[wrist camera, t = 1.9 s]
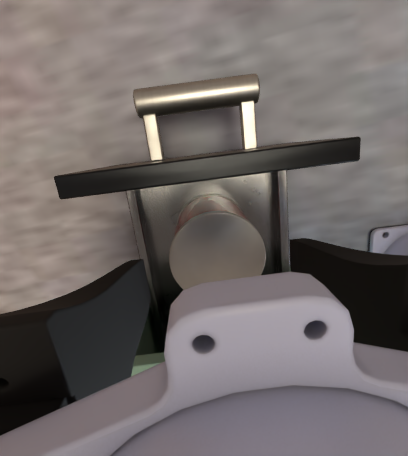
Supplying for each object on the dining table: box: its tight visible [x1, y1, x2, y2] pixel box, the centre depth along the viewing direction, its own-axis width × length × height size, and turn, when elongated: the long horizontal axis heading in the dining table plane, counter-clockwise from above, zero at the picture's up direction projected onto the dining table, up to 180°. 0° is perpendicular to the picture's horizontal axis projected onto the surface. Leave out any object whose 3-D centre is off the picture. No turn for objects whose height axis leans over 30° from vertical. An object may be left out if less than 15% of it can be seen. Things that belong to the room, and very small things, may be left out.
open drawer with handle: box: [54, 74, 360, 353], centre depth 16 cm, size 13×18×8 cm
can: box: [169, 194, 266, 290], centre depth 17 cm, size 5×5×6 cm
